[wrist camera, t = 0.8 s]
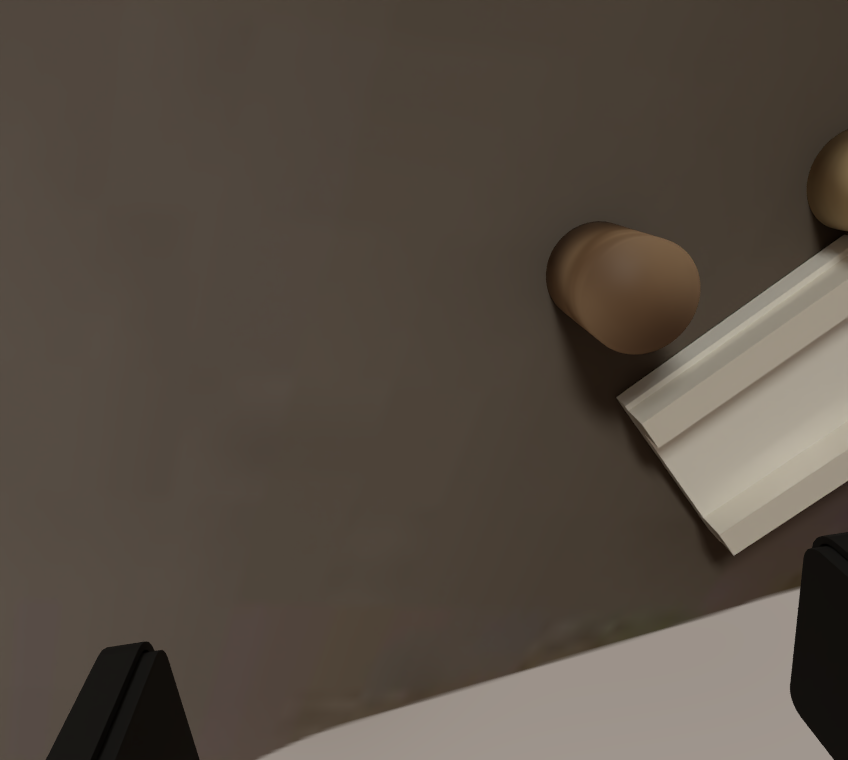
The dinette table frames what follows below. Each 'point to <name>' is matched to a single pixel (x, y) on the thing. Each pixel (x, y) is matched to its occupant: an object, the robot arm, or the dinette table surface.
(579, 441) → the dinette table surface
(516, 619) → the dinette table surface
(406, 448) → the dinette table surface
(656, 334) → the walnut bead
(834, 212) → the maple bead
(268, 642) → the dinette table surface
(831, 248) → the groove tray
